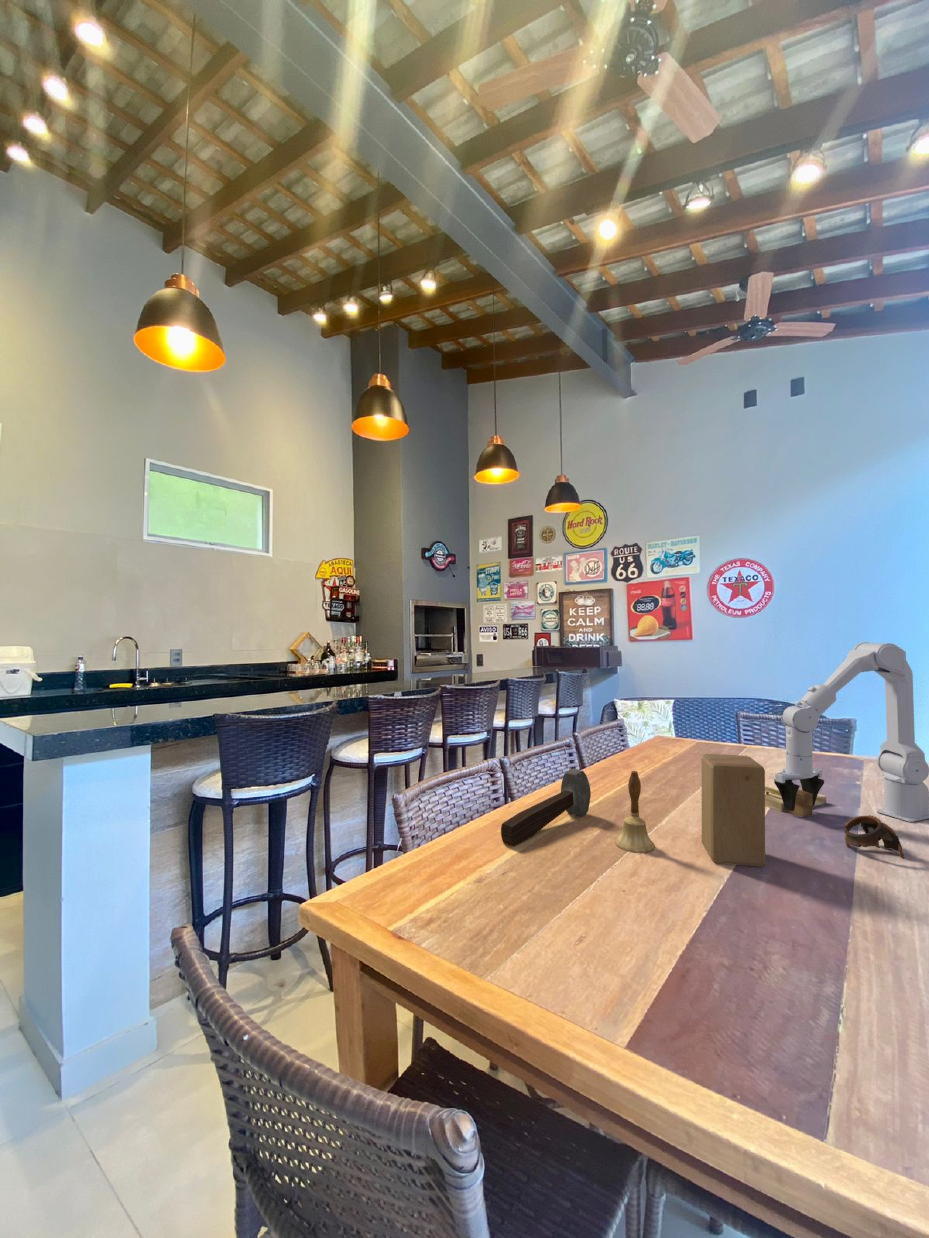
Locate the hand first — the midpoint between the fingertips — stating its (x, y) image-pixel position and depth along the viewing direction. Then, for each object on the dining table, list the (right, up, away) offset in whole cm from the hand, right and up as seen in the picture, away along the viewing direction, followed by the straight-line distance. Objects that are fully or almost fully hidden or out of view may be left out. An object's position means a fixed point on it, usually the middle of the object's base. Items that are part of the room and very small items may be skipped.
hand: (799, 807), depth 136 cm
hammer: (-66, -2, -10) cm, 66 cm away
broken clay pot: (+2, -2, -22) cm, 22 cm away
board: (+3, -2, +8) cm, 8 cm away
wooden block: (-30, -1, -25) cm, 39 cm away
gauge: (-1, -1, +4) cm, 4 cm away
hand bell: (-48, -1, -20) cm, 52 cm away
